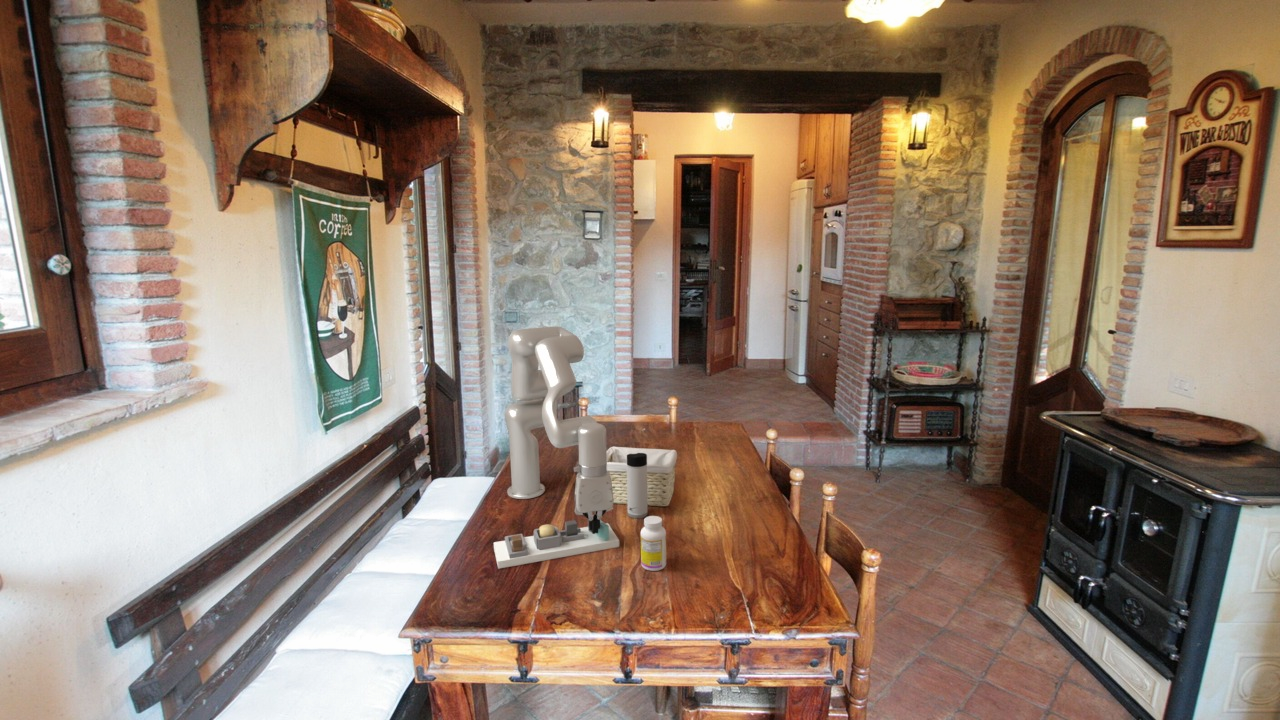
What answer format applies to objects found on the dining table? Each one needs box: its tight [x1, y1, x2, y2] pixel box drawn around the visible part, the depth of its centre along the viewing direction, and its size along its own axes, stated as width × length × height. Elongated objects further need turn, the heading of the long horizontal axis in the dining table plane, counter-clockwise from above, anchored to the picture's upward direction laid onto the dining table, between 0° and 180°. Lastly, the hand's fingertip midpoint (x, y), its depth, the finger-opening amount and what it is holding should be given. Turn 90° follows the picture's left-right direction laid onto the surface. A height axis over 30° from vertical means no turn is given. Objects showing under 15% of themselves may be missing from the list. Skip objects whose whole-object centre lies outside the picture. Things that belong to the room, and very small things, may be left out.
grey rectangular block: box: [564, 519, 578, 537], centre depth 167 cm, size 2×3×4 cm
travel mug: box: [626, 453, 649, 519], centre depth 183 cm, size 6×7×20 cm
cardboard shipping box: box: [512, 533, 523, 552], centre depth 158 cm, size 3×2×4 cm
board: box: [493, 522, 620, 570], centre depth 164 cm, size 11×33×6 cm, turn 109°
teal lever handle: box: [587, 514, 610, 540], centre depth 168 cm, size 9×2×4 cm, turn 36°
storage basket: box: [606, 446, 678, 507], centre depth 197 cm, size 24×16×15 cm
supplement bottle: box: [640, 515, 667, 572], centre depth 154 cm, size 7×7×13 cm
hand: (594, 531), depth 165 cm, fingers closed
